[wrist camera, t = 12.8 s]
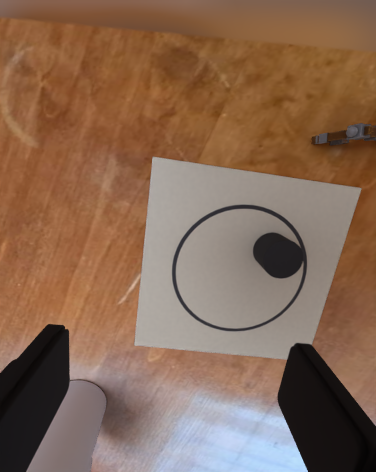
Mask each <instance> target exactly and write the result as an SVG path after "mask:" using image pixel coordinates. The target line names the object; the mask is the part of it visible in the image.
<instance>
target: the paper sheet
mask: <svg viewBox="0 0 376 472" xmlns="http://www.w3.org/2000/svg"><path fill="white" fill-rule="evenodd" d="M361 189H362V188H357V187H350V186H344V185H337V184H330V183H324V182H317V181H310V180H304V179H297V178H291V177H284V176H277V175H271V174H264V173H257V172H251V171H244V170H237V169H231V168H224V167H217V166H211V165H204V164H198V163H191V162H184V161H178V160H171V159H164V158H158V157H153V160H152V170H151V181H150V191H149V201H148V211H147V221H146V231H145V241H144V252H143V262H142V272H141V282H140V292H139V302H138V312H137V323H136V333H135V343H134V345H136V346H147V347H158V348H168V349H179V350H190V351H201V352H211V353H222V354H233V355H244V356H255V357H265V358H276V359H288V355H289V351H290V348H291V347H292V346H294V344H295V343H306V344H311V345H312V343H313V339H314V336H315V333H316V330H317V327H318V324H319V321H320V317H321V314H322V311H323V308H324V305H325V302H326V299H327V295H328V292H329V289H330V286H331V283H332V280H333V277H334V273H335V270H336V267H337V264H338V261H339V258H340V255H341V251H342V248H343V245H344V242H345V239H346V236H347V233H348V229H349V226H350V223H351V220H352V217H353V214H354V211H355V207H356V204H357V201H358V198H359V195H360V192H361ZM271 232H274V233H278V234H281V235H282V236H284V237H286V238H288V239H290V240H291V241H293V242H295V243H296V244H298V245H299V246H300V248H301V249H302V252H303V263H302V266H301V267H300V269H299V270H298V271H297V272H296V273H295V274H294V275H292V276H290V277H288V278H283V279H279V278H274V277H272V276H270V275H269V274H268V273H267V272H266V271H265V270H264V269H263V268H262V267H261V266H260V265H259V263H258V262H257V261H256V260H255V258H254V256H253V247H254V244H255V242H256V241H257V239H258V238H259V237H261V236H262V235H264V234H266V233H271Z"/></svg>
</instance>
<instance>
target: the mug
mask: <svg viewBox="0 0 376 472" xmlns="http://www.w3.org/2000/svg"><path fill="white" fill-rule="evenodd" d="M105 409H106V397H105V395H104V393H103V391H102V390H101V389H100V388H99V387H98V386H96V385H95V384H93V383H90V382H87V381H82V380H74V381H70V383H69V388H68V391H67V394H66V396H65V398H64V399H63V401H62V403H61V405H60V407H59V409H58V411H57V413H56V415H55V417H54V419H53V421H52V423H51V425H50V427H49V428H48V430H47V432H46V434H45V436H44V438H43V440H42V442H41V444H40V446H39V448H38V450H37V452H36V454H35V456H34V457H33V459H32V461H31V463H30V465H29V467H28V469H27V471H26V472H91V467H92V454H93V451H94V447H95V444H96V441H97V437H98V434H99V431H100V427H101V423H102V419H103V416H104V412H105Z"/></svg>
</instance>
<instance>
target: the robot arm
mask: <svg viewBox="0 0 376 472" xmlns="http://www.w3.org/2000/svg"><path fill="white" fill-rule="evenodd" d="M69 383H70V375H69V330H68V329H65V326H64V325H53V324H48V325H47V326H46V327H45V328H44V329H43V330H42V331H41V332H40V334H39V335H38V336H37V337H36V338H35V339H34V340H33V341H32V343H31V344H30V345H29V346H28V347H27V348H26V349H25V351H24V352H23V353H22V354H21V355H20V356H19V357H18V358H17V359H15V360H13V361H12V362H10V363H9V364H8V365H7V366H6V368H5V369H4V370H3V371H2V372H1V373H0V472H26V471H27V469H28V467H29V465H30V463H31V461H32V459H33V457H34V456H35V454H36V452H37V450H38V448H39V446H40V444H41V442H42V440H43V438H44V436H45V434H46V432H47V430H48V428H49V427H50V425H51V423H52V421H53V419H54V417H55V415H56V413H57V411H58V409H59V407H60V405H61V403H62V401H63V399H64V398H65V396H66V394H67V391H68V388H69ZM278 403H279V406H280V409H281V411H282V413H283V415H284V418H285V420H286V422H287V425H288V427H289V429H290V431H291V434H292V436H293V438H294V441H295V443H296V445H297V447H298V450H299V452H300V454H301V457H302V459H303V461H304V463H305V466H306V468H307V470H308V472H376V426H375V425H374V424H373V422H372V421H371V420H370V418H369V417H368V416H367V415H366V413H365V412H364V411H363V410H362V408H361V407H360V406H359V405H358V403H357V402H356V401H355V399H354V398H353V397H352V396H351V394H350V393H349V392H348V391H347V389H346V388H345V387H344V385H343V384H342V383H341V382H340V380H339V379H338V378H337V377H336V375H335V374H334V373H333V371H332V370H331V369H330V368H329V366H328V365H327V364H326V363H325V361H324V360H323V359H322V358H321V356H320V355H319V354H318V352H317V351H316V350H315V349H314V347H313V346H312V345H311V344H306V343H295V344H294V346H292V347H291V348H290V351H289V355H288V359H287V362H286V366H285V370H284V374H283V377H282V381H281V385H280V388H279V392H278Z"/></svg>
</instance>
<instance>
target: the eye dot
mask: <svg viewBox="0 0 376 472" xmlns="http://www.w3.org/2000/svg"><path fill="white" fill-rule="evenodd" d="M253 256H254V258H255V260H256V261H257V262H258V263H259V265H260V266H261V267H262V268H263V269H264V270H265V271H266V272H267V273H268V274H269V275H270V276H272V277H274V278H279V279H283V278H288V277H290V276H292V275H294V274H295V273H296V272H297V271H298V270H299V269H300V267H301V266H302V263H303V252H302V249H301V248H300V246H299V245H298V244H296V243H295V242H293V241H291V240H290V239H288V238H286V237H284V236H282V235H281V234H278V233H274V232H271V233H266V234H264V235H262V236H261V237H259V238H258V239H257V241H256V242H255V244H254V247H253Z"/></svg>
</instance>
